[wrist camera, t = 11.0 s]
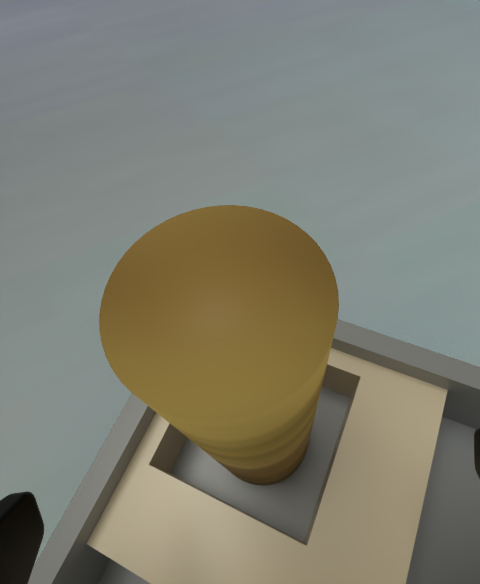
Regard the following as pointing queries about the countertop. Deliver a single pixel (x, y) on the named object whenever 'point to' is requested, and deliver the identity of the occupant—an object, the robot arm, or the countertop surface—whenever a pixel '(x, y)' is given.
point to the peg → (226, 333)
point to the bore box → (294, 488)
